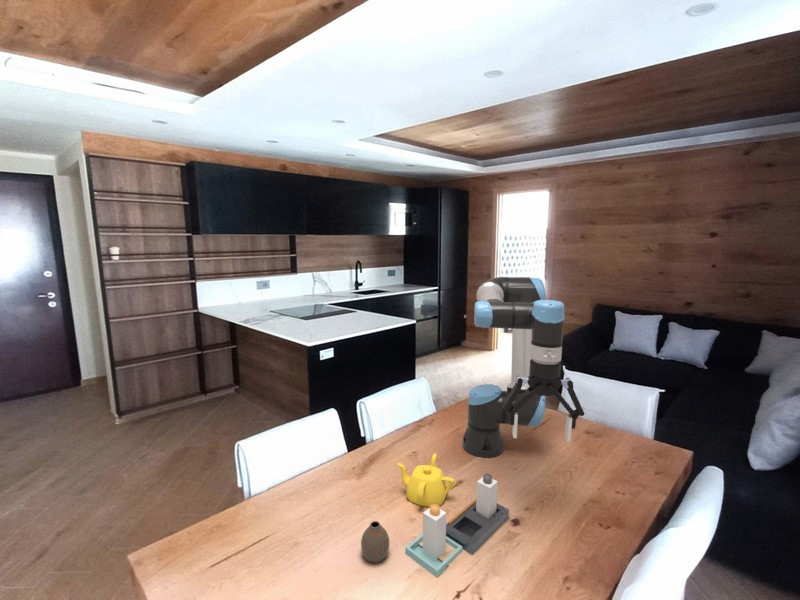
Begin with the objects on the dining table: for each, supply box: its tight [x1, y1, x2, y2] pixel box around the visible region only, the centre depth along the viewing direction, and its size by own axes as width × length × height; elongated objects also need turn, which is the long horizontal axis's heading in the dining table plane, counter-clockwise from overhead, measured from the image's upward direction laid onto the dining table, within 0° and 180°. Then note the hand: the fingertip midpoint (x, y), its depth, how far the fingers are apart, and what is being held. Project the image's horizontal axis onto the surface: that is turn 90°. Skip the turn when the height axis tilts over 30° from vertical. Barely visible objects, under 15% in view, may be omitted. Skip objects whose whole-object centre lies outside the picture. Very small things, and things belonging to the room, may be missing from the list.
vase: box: [360, 520, 390, 564], centre depth 95 cm, size 7×7×9 cm
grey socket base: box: [446, 498, 510, 556], centre depth 105 cm, size 9×18×4 cm, turn 136°
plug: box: [422, 504, 447, 562], centre depth 96 cm, size 4×4×12 cm
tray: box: [404, 533, 464, 578], centre depth 97 cm, size 10×10×2 cm
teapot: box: [396, 453, 455, 508], centre depth 117 cm, size 14×13×10 cm
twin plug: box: [475, 473, 499, 520], centre depth 107 cm, size 4×4×12 cm
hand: (540, 437), depth 104 cm, fingers open, 13 cm apart
